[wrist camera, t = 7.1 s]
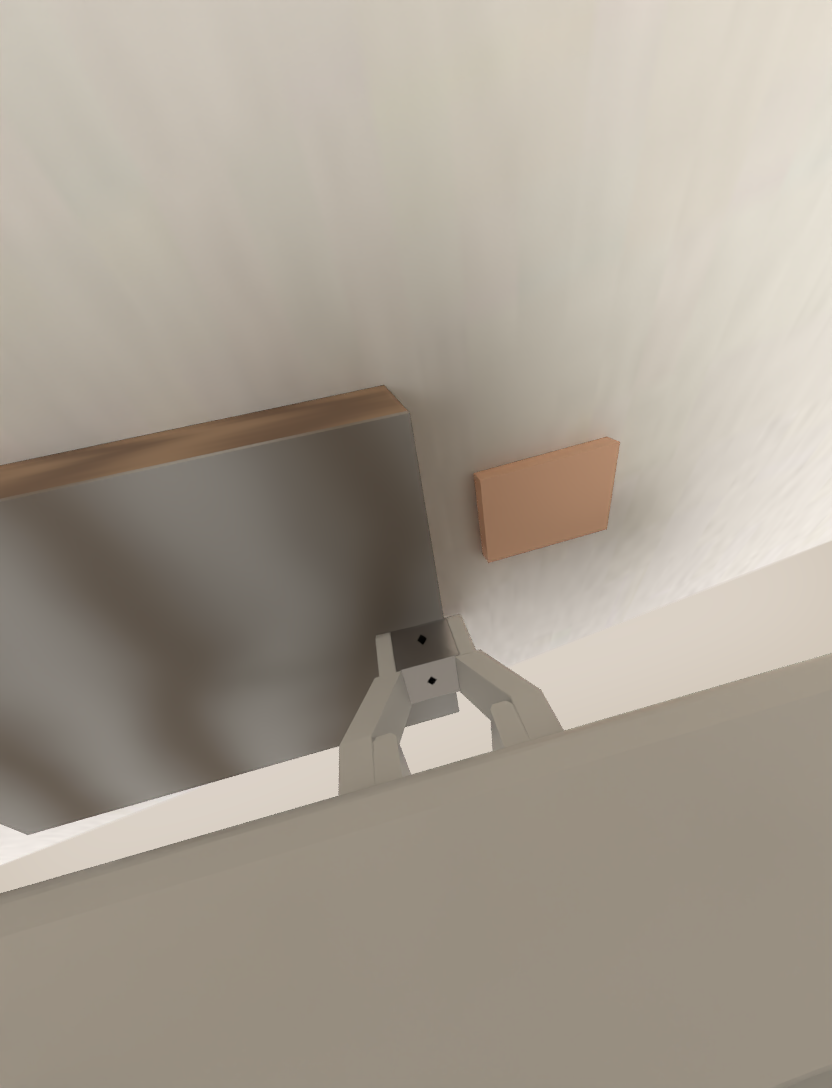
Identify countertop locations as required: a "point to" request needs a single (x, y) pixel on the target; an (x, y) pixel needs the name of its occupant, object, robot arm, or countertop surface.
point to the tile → (545, 498)
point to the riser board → (203, 601)
